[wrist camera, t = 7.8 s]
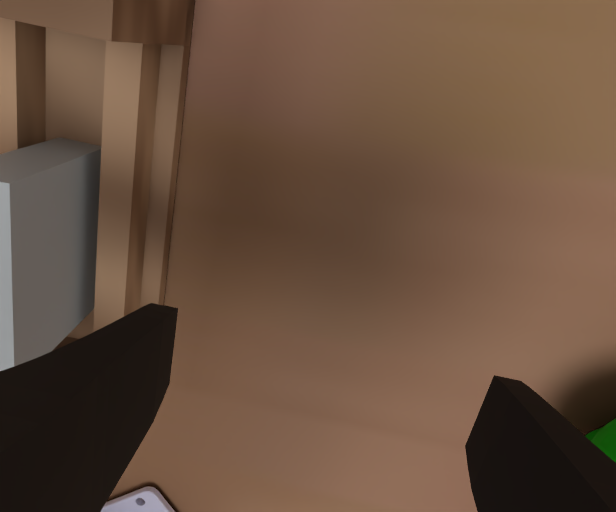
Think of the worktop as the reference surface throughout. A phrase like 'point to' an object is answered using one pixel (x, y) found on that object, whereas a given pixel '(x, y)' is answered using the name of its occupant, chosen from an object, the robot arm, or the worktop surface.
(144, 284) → the sill track
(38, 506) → the robot arm
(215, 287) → the worktop surface
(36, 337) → the grey rectangular block
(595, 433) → the toy
